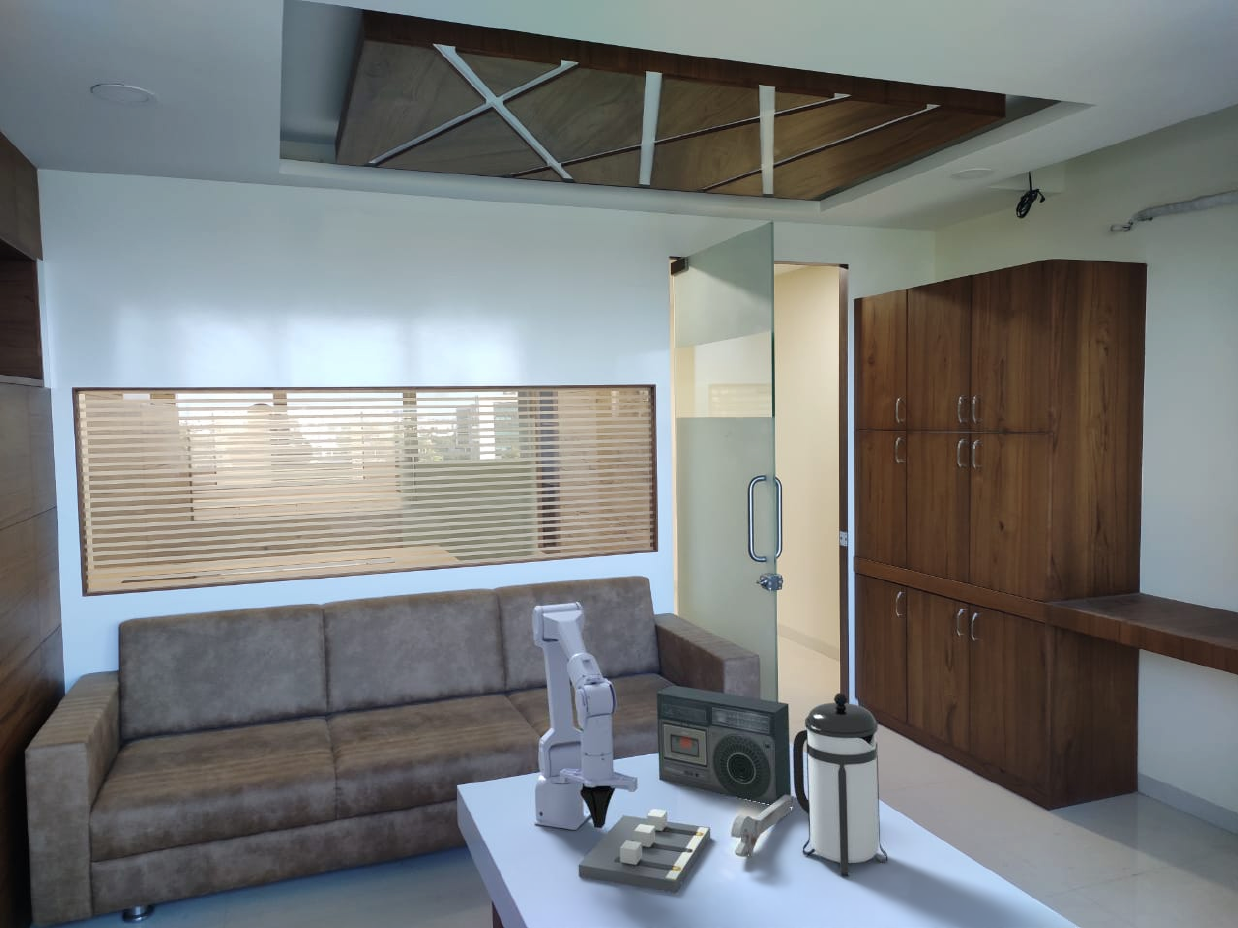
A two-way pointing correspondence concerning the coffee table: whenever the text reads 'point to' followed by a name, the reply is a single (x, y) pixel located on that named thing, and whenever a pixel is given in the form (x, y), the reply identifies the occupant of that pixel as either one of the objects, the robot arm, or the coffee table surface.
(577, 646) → the robot arm
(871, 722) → the coffee press
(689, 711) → the cassette player
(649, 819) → the switch tab
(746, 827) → the wrench
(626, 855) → the switch tab
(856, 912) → the coffee table surface
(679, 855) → the switch board
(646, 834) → the white cube
